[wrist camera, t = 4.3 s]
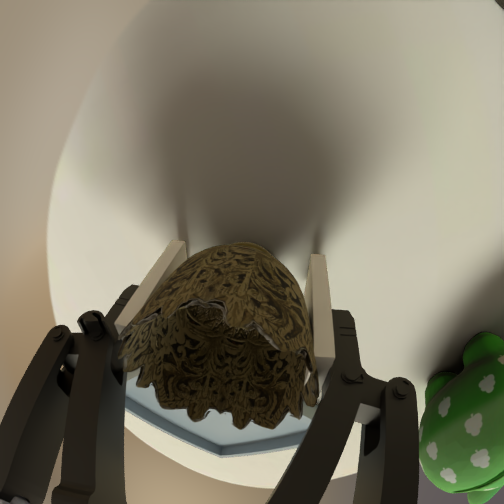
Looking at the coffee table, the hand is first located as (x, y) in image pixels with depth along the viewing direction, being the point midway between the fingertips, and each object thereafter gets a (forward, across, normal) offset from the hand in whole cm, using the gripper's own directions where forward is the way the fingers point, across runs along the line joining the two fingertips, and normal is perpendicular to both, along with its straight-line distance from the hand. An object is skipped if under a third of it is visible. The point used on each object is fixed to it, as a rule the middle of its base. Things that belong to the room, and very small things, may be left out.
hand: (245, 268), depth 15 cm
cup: (+1, 0, 0) cm, 1 cm away
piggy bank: (+1, +24, -10) cm, 26 cm away
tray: (+1, -3, -20) cm, 20 cm away
